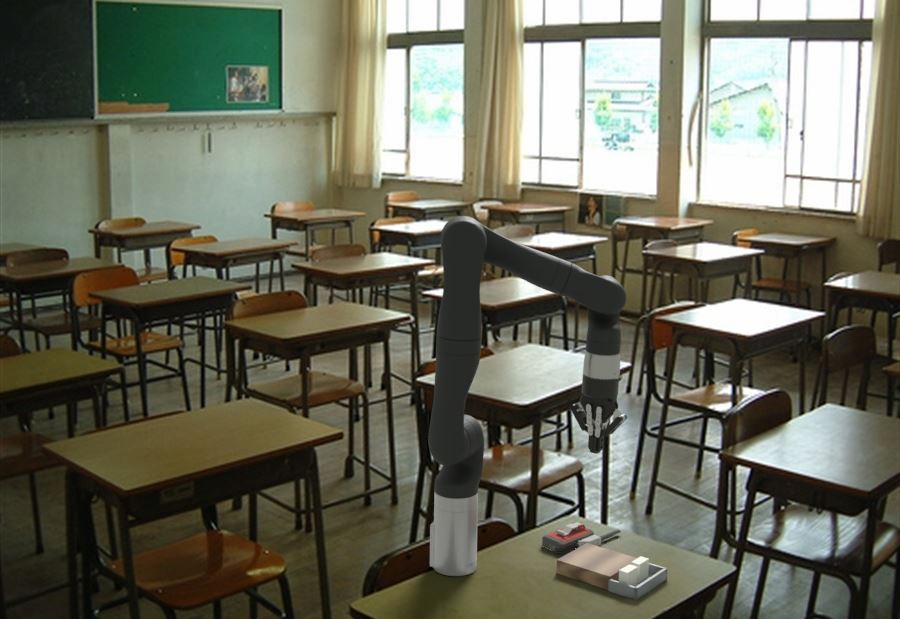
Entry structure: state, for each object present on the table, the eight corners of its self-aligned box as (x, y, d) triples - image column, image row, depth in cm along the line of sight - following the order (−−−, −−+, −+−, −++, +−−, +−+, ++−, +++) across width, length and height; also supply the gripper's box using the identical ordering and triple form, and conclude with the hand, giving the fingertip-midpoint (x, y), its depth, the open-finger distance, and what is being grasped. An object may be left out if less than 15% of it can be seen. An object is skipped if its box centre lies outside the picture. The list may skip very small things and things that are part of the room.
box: (608, 591, 232) (608, 579, 232) (639, 571, 242) (640, 560, 242) (636, 600, 229) (636, 588, 228) (666, 579, 238) (667, 568, 238)
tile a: (619, 570, 232) (627, 572, 231) (629, 564, 235) (637, 566, 234) (618, 588, 233) (626, 591, 231) (628, 582, 236) (637, 585, 234)
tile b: (631, 561, 236) (639, 564, 235) (640, 556, 239) (649, 558, 238) (630, 579, 237) (638, 582, 236) (639, 573, 240) (648, 576, 239)
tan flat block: (556, 573, 241) (556, 559, 240) (586, 555, 250) (586, 542, 249) (609, 590, 233) (610, 576, 232) (638, 571, 242) (639, 558, 242)
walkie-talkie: (565, 561, 248) (623, 538, 262) (566, 542, 247) (623, 519, 261) (535, 549, 254) (593, 527, 268) (536, 530, 254) (594, 509, 267)
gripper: (564, 369, 236) (559, 449, 239) (620, 382, 228) (613, 464, 231) (583, 363, 242) (577, 441, 245) (638, 375, 234) (631, 455, 237)
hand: (595, 452), depth 238 cm, fingers closed
